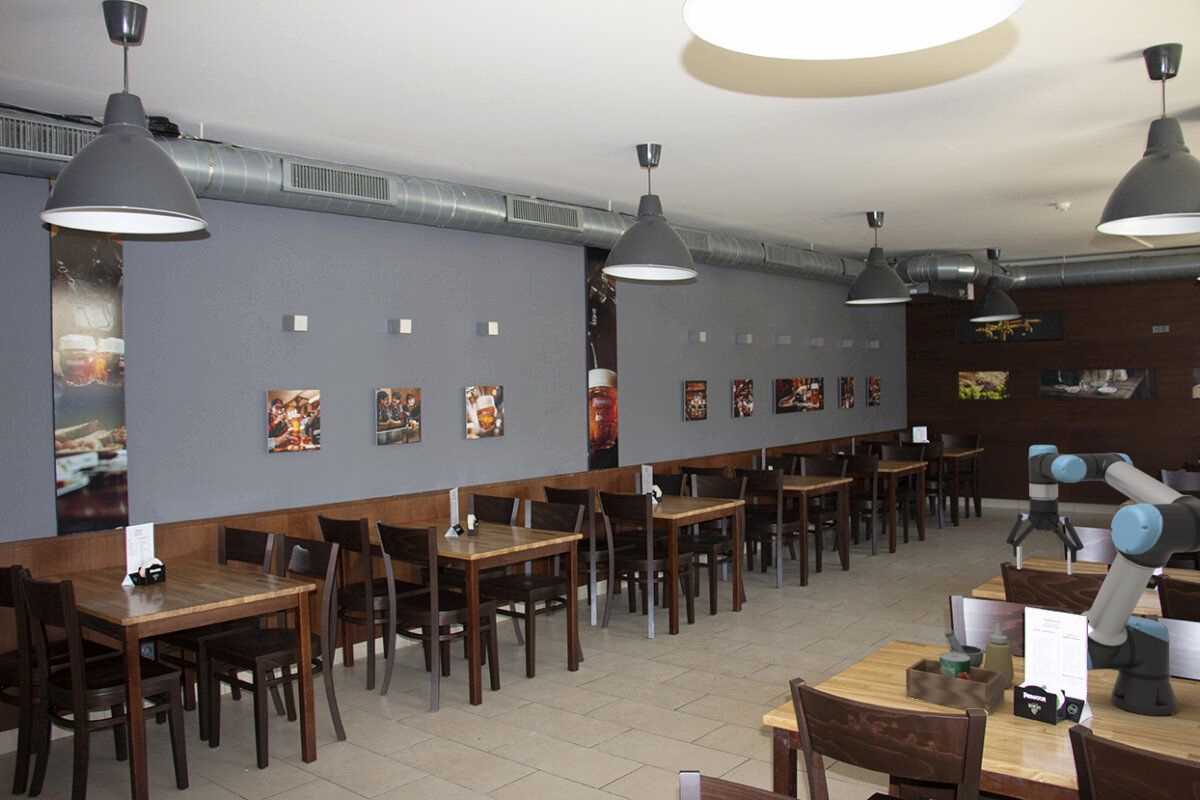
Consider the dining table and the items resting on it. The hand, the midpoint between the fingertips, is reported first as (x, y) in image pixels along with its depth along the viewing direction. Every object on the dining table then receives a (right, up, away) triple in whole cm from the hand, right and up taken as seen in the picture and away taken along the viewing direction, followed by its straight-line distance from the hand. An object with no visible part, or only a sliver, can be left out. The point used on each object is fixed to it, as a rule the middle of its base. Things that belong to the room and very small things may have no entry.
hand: (1044, 571), depth 262 cm
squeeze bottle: (-15, -32, -4) cm, 36 cm away
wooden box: (-32, -33, -15) cm, 48 cm away
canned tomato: (-32, -32, -15) cm, 48 cm away
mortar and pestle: (-20, -32, +9) cm, 39 cm away
